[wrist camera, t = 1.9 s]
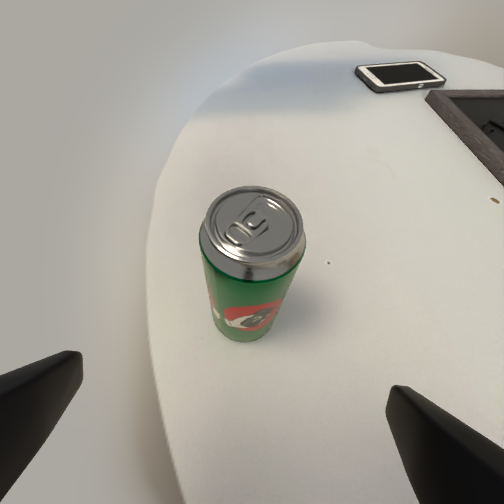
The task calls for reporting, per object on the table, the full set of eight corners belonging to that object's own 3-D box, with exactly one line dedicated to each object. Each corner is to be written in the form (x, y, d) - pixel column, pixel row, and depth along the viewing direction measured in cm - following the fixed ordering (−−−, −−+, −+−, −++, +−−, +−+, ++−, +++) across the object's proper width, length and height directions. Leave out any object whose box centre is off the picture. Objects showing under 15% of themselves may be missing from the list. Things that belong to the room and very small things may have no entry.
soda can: (286, 311, 22) (334, 219, 12) (245, 358, 19) (261, 296, 9) (242, 273, 23) (250, 165, 13) (199, 313, 21) (170, 219, 11)
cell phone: (352, 71, 46) (354, 65, 46) (418, 66, 50) (421, 60, 49) (375, 93, 43) (378, 87, 42) (445, 86, 46) (449, 80, 45)
